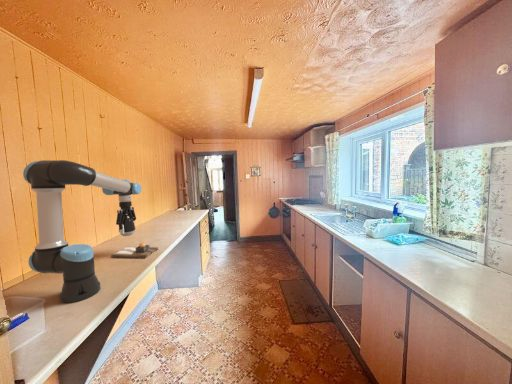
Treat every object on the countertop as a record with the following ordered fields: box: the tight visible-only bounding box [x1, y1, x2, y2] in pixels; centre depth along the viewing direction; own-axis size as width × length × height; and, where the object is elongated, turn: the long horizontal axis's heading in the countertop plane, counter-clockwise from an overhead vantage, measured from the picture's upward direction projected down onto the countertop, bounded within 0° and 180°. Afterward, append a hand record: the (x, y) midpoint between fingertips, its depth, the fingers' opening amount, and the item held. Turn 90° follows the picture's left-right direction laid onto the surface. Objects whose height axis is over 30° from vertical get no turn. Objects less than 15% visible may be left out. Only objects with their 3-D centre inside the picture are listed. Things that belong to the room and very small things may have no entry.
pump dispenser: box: [118, 214, 136, 237], centre depth 150 cm, size 10×10×15 cm
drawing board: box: [110, 244, 159, 259], centre depth 151 cm, size 16×25×6 cm, turn 85°
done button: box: [138, 242, 147, 248], centre depth 150 cm, size 4×4×3 cm
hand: (127, 231), depth 150 cm, fingers closed on pump dispenser, 10 cm apart
